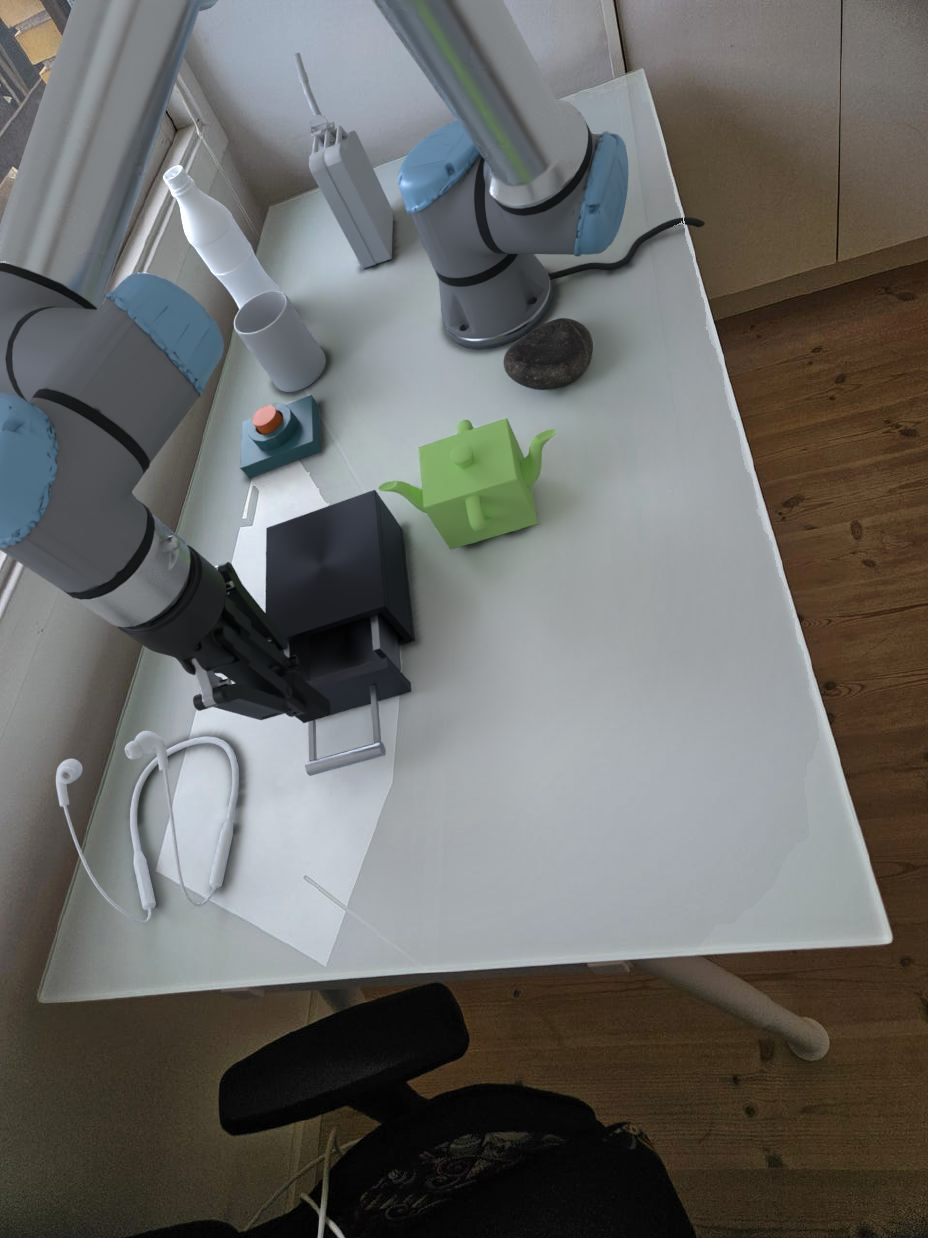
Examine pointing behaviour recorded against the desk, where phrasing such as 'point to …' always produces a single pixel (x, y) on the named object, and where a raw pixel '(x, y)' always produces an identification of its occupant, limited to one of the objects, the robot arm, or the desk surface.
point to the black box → (338, 569)
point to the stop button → (267, 419)
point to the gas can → (349, 184)
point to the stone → (550, 355)
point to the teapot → (476, 482)
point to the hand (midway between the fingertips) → (317, 712)
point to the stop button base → (282, 438)
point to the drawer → (351, 679)
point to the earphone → (144, 746)
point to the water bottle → (218, 239)
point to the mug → (280, 341)
